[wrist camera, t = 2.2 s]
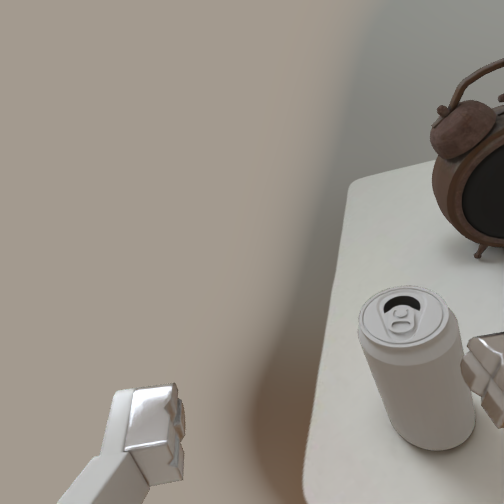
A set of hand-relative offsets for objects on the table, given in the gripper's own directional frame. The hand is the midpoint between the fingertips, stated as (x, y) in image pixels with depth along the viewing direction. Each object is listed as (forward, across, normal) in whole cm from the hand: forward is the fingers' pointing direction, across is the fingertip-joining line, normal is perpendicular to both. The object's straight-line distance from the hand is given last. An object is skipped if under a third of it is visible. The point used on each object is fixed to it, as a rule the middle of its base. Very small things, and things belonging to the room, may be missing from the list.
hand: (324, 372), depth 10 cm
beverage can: (+9, +12, -21) cm, 25 cm away
